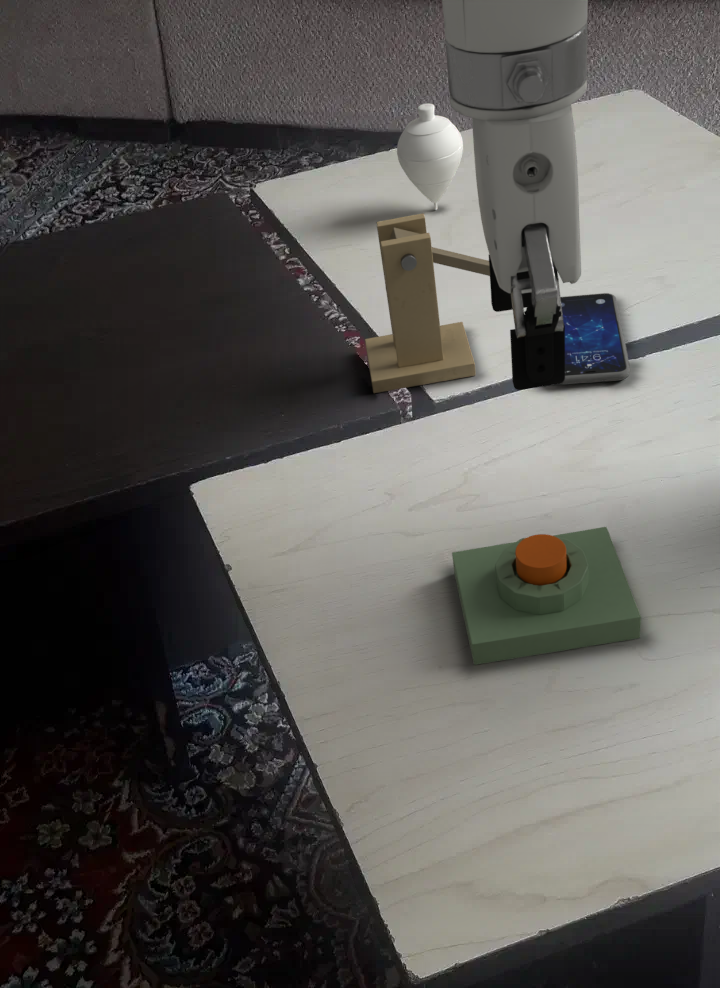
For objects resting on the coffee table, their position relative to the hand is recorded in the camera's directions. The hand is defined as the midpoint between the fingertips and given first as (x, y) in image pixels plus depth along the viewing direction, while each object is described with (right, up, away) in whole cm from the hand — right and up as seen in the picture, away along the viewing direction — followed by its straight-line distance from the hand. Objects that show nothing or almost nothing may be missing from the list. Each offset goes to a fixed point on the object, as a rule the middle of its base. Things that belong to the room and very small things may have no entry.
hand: (526, 343), depth 70 cm
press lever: (-2, +15, +29) cm, 32 cm away
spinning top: (-2, +32, +58) cm, 67 cm away
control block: (+3, -17, +10) cm, 20 cm away
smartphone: (+11, +9, +33) cm, 36 cm away
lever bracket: (-5, +8, +35) cm, 36 cm away
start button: (+2, -14, +7) cm, 16 cm away
